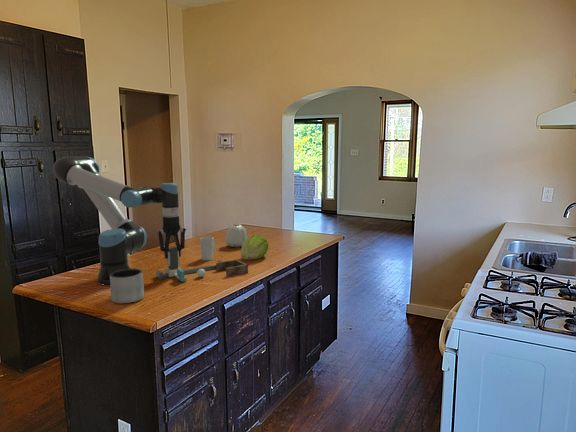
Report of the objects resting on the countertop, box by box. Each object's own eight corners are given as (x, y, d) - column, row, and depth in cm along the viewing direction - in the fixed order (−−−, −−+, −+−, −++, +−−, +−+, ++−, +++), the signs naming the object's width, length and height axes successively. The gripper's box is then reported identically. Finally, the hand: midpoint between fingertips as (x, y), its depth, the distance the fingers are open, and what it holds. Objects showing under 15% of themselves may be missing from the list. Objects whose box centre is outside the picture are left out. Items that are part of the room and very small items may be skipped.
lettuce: (228, 251, 223) (246, 240, 217) (246, 238, 243) (264, 228, 237) (241, 272, 224) (260, 261, 218) (258, 257, 243) (276, 247, 237)
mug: (207, 261, 226) (206, 239, 224) (198, 259, 230) (197, 238, 228) (220, 257, 234) (219, 236, 232) (211, 255, 238) (210, 235, 236)
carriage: (176, 282, 188) (175, 254, 186) (165, 274, 201) (164, 247, 199) (189, 280, 192) (188, 252, 189) (178, 272, 204) (176, 246, 202)
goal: (227, 276, 198) (227, 268, 198) (216, 270, 209) (216, 262, 208) (248, 272, 205) (247, 264, 204) (236, 266, 215) (236, 259, 214)
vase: (244, 243, 269) (244, 222, 267) (249, 247, 256) (249, 226, 254) (223, 244, 265) (223, 223, 263) (227, 249, 252) (227, 227, 250)
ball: (199, 278, 195) (198, 270, 194) (195, 276, 198) (195, 268, 198) (207, 277, 197) (206, 269, 197) (203, 275, 201) (203, 267, 200)
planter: (104, 302, 165) (102, 275, 164) (126, 292, 177) (125, 267, 175) (129, 306, 161) (127, 278, 159) (151, 296, 173) (149, 270, 171)
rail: (159, 279, 194) (159, 273, 194) (156, 276, 198) (155, 270, 198) (224, 268, 213) (224, 262, 212) (220, 266, 217) (220, 260, 216)
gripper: (155, 218, 188) (158, 268, 192) (190, 215, 197) (192, 263, 201) (150, 216, 194) (153, 265, 198) (185, 213, 204) (187, 260, 207)
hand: (173, 264), depth 200 cm, fingers closed on carriage, 4 cm apart
